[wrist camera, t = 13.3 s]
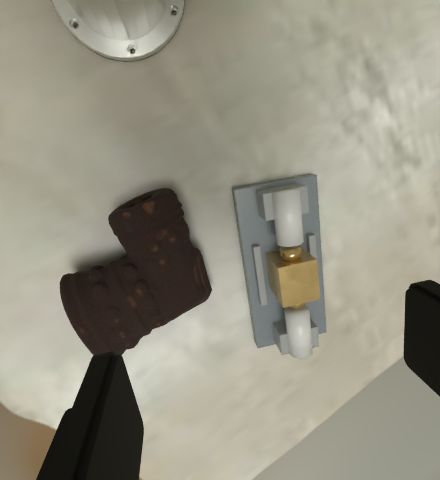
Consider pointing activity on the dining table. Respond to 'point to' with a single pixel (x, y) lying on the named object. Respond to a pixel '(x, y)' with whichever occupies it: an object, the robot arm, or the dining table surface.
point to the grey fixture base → (271, 239)
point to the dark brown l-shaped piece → (138, 277)
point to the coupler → (293, 276)
